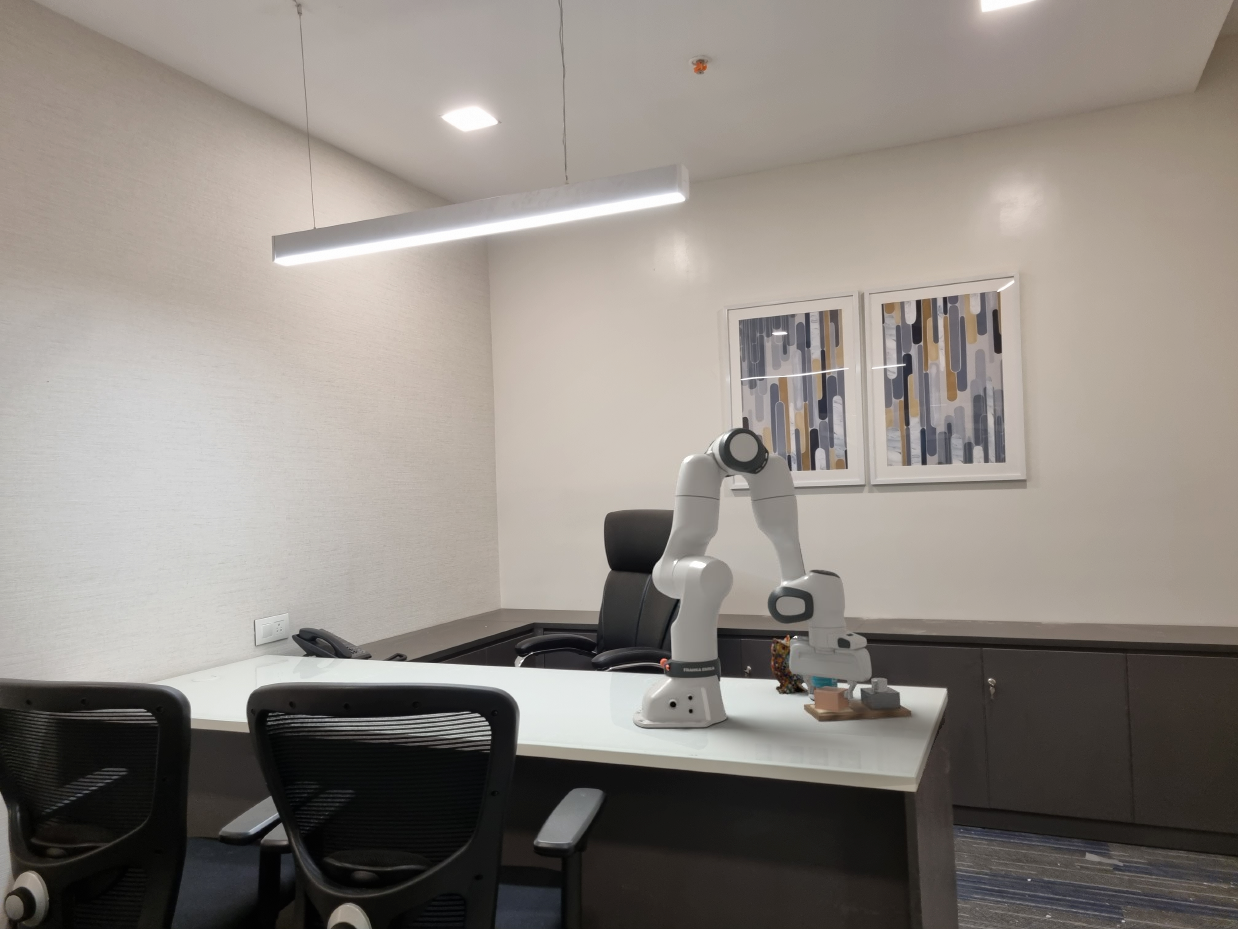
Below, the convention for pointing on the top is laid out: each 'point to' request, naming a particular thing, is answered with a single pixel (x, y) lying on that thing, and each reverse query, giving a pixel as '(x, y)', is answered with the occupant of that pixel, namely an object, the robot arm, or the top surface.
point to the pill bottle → (822, 683)
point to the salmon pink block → (830, 698)
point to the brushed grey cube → (880, 696)
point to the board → (854, 712)
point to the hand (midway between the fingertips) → (830, 696)
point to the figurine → (785, 668)
